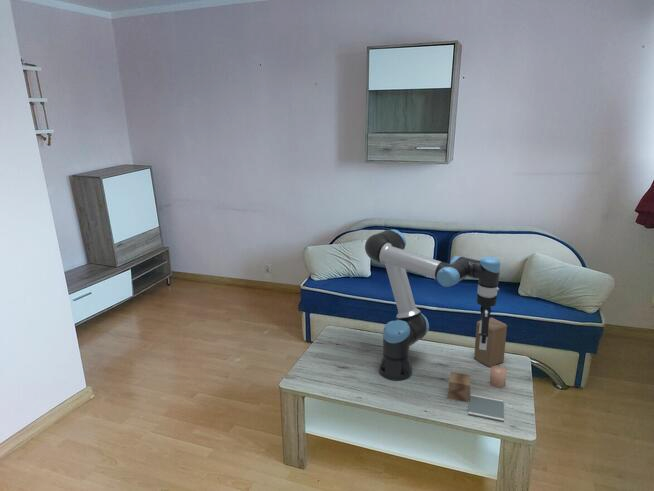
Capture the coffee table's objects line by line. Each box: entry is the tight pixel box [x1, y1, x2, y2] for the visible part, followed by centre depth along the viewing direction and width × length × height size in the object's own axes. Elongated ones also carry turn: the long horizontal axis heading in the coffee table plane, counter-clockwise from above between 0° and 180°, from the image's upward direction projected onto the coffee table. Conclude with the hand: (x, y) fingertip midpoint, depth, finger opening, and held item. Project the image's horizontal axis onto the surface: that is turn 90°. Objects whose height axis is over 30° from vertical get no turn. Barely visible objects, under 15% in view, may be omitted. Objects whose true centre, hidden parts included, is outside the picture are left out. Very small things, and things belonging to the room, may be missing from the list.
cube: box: [447, 371, 472, 403], centre depth 182 cm, size 8×8×8 cm
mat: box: [467, 393, 505, 423], centre depth 174 cm, size 13×13×1 cm
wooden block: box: [473, 317, 508, 368], centre depth 206 cm, size 10×10×20 cm
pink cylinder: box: [489, 365, 507, 389], centre depth 190 cm, size 6×6×7 cm
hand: (482, 341), depth 183 cm, fingers open, 13 cm apart
